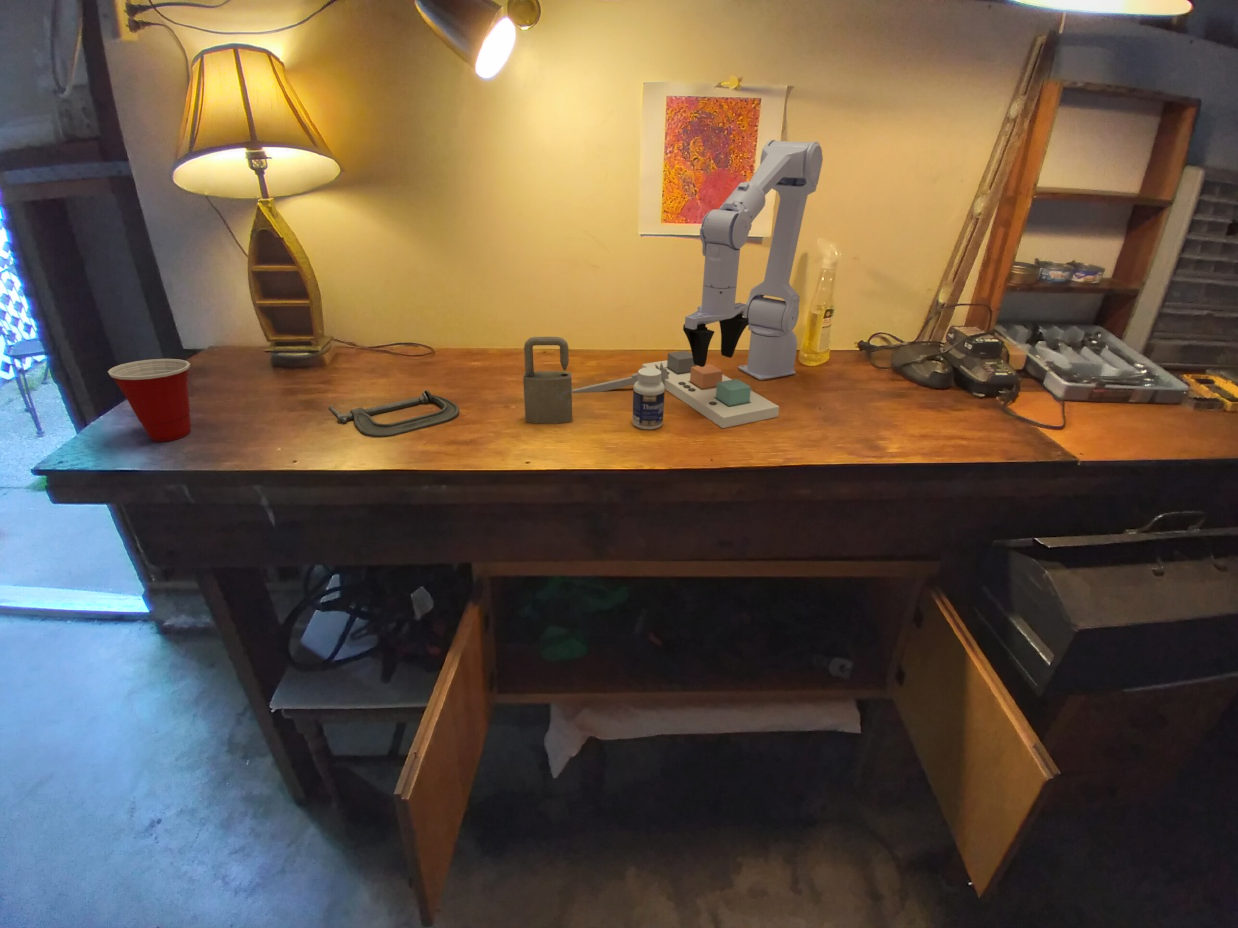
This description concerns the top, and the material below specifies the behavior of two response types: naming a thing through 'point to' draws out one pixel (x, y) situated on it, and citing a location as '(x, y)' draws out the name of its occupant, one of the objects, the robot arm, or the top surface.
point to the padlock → (547, 386)
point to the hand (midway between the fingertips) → (713, 360)
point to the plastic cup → (157, 395)
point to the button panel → (716, 401)
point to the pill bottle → (648, 399)
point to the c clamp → (392, 429)
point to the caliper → (619, 382)
